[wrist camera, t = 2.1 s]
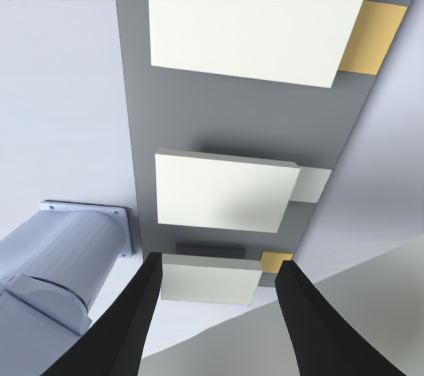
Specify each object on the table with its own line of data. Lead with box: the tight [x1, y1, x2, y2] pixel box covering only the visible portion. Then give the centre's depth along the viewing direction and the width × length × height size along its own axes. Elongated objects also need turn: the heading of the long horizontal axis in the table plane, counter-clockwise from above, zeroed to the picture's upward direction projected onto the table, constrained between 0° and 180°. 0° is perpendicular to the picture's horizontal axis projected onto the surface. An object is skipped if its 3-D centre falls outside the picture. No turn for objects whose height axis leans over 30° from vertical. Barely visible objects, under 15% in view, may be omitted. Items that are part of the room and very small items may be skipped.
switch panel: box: [116, 0, 412, 287], centre depth 18 cm, size 18×32×2 cm, turn 174°
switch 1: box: [149, 0, 363, 88], centre depth 10 cm, size 10×6×1 cm, turn 84°
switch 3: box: [161, 254, 263, 305], centre depth 20 cm, size 10×6×1 cm, turn 84°
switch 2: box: [155, 148, 300, 233], centre depth 15 cm, size 10×6×1 cm, turn 84°
